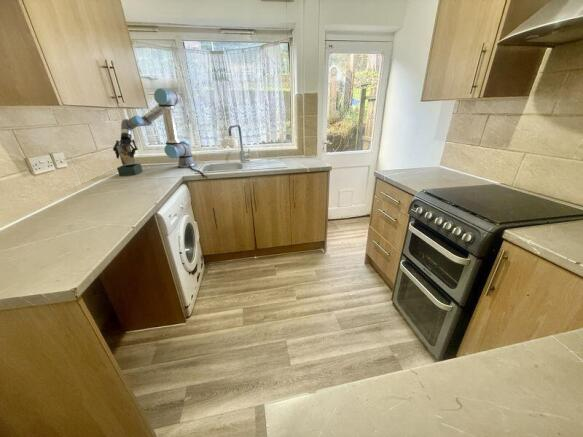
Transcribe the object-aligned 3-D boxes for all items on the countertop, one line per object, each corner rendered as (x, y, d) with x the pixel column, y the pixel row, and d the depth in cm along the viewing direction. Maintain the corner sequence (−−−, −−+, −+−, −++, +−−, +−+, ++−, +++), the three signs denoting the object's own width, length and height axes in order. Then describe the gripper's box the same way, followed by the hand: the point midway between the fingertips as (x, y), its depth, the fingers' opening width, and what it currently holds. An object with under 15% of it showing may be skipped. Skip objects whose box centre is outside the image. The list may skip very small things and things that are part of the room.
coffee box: (134, 163, 212) (129, 144, 205) (135, 164, 207) (129, 144, 201) (122, 164, 207) (116, 145, 200) (122, 165, 202) (116, 146, 196)
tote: (127, 172, 216) (125, 164, 213) (142, 171, 218) (140, 163, 215) (119, 176, 203) (116, 167, 200) (135, 175, 204) (133, 166, 202)
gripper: (142, 137, 215) (142, 158, 208) (113, 139, 210) (111, 160, 203) (139, 132, 208) (138, 153, 201) (108, 133, 203) (106, 155, 196)
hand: (125, 157), depth 202 cm, fingers closed on coffee box, 11 cm apart
